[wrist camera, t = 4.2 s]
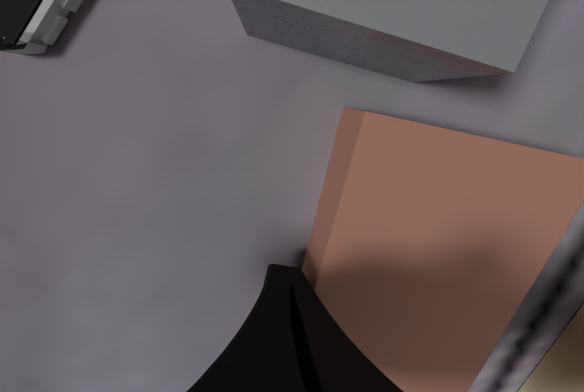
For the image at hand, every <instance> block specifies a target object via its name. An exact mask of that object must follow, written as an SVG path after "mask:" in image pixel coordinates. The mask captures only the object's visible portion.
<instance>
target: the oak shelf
mask: <svg viewBox="0 0 584 392" xmlns="http://www.w3.org/2000/svg"><path fill="white" fill-rule="evenodd" d="M518 392H584V304H583V305H582V307H581V308H580V309H579V311H578V312H577V313H576V315H575V316H574V317H573V319H572V320H571V321H570V323H569V324H568V325H567V327H566V328H565V329H564V331H563V332H562V333H561V335H560V336H559V337H558V339H557V340H556V341H555V343H554V344H553V345H552V347H551V348H550V349H549V351H548V352H547V353H546V355H545V356H544V357H543V359H542V360H541V361H540V363H539V364H538V365H537V367H536V368H535V369H534V371H533V372H532V373H531V375H530V376H529V377H528V379H527V380H526V381H525V383H524V384H523V385H522V387H521V388H520V389H519V391H518Z"/></svg>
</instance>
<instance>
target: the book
mask: <svg viewBox="0 0 584 392" xmlns="http://www.w3.org/2000/svg"><path fill="white" fill-rule="evenodd" d="M583 201H584V159H582V158H577V157H573V156H568V155H563V154H559V153H554V152H550V151H545V150H541V149H536V148H532V147H527V146H523V145H518V144H513V143H509V142H504V141H500V140H495V139H491V138H486V137H482V136H477V135H472V134H468V133H463V132H459V131H454V130H450V129H445V128H441V127H436V126H431V125H427V124H422V123H418V122H413V121H409V120H404V119H400V118H395V117H390V116H386V115H381V114H377V113H372V112H368V111H362V110H356V109H350V108H344V107H343V110H342V114H341V117H340V121H339V125H338V129H337V133H336V137H335V141H334V145H333V149H332V153H331V157H330V161H329V165H328V168H327V172H326V176H325V180H324V184H323V188H322V192H321V196H320V200H319V204H318V208H317V212H316V215H315V219H314V223H313V227H312V231H311V235H310V239H309V243H308V247H307V251H306V255H305V259H304V262H303V266H302V271H303V273H304V275H305V276H306V278H307V280H308V281H309V283H310V285H311V286H312V288H313V289H314V291H315V293H316V294H317V296H318V297H319V299H320V300H321V302H322V303H323V305H324V306H325V308H326V309H327V311H328V312H329V314H330V315H331V316H332V317H333V319H334V320H335V321H336V323H337V324H338V325H339V327H340V328H341V329H342V330H343V332H344V333H345V334H346V335H347V336H348V337H349V339H350V340H351V341H352V342H353V343H354V344H355V345H356V346H357V347H358V349H359V350H360V351H361V352H362V353H363V354H364V355H365V356H366V357H367V358H368V359H369V360H370V361H371V362H372V363H373V364H374V365H375V366H376V367H377V368H378V369H379V370H380V371H381V372H382V373H383V374H384V375H385V376H387V377H388V378H389V379H390V380H391V381H392V382H393V383H394V384H396V385H397V386H398V387H399V388H400V389H401V390H402V391H404V392H468V390H469V388H470V387H471V385H472V383H473V382H474V380H475V379H476V377H477V375H478V374H479V372H480V370H481V369H482V367H483V365H484V364H485V362H486V360H487V359H488V357H489V356H490V354H491V352H492V351H493V349H494V347H495V346H496V344H497V342H498V341H499V339H500V337H501V336H502V334H503V332H504V331H505V329H506V328H507V326H508V324H509V323H510V321H511V319H512V318H513V316H514V314H515V313H516V311H517V309H518V308H519V306H520V304H521V303H522V301H523V300H524V298H525V296H526V295H527V293H528V291H529V290H530V288H531V286H532V285H533V283H534V281H535V280H536V278H537V277H538V275H539V273H540V272H541V270H542V268H543V267H544V265H545V263H546V262H547V260H548V258H549V257H550V255H551V253H552V252H553V250H554V249H555V247H556V245H557V244H558V242H559V240H560V239H561V237H562V235H563V234H564V232H565V230H566V229H567V227H568V225H569V224H570V222H571V221H572V219H573V217H574V216H575V214H576V212H577V211H578V209H579V207H580V206H581V204H582V202H583Z"/></svg>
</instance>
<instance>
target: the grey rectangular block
mask: <svg viewBox="0 0 584 392" xmlns="http://www.w3.org/2000/svg"><path fill="white" fill-rule="evenodd" d="M548 1H549V0H232V2H233V4H234V7H235V9H236V11H237V13H238V16H239V18H240V20H241V22H242V24H243V27H244V29H245V31H246V33H247V35H249V36H252V37H256V38H259V39H263V40H266V41H270V42H273V43H277V44H280V45H284V46H287V47H291V48H294V49H298V50H301V51H305V52H308V53H312V54H315V55H319V56H322V57H326V58H329V59H333V60H336V61H340V62H343V63H347V64H350V65H354V66H357V67H361V68H364V69H368V70H371V71H375V72H378V73H382V74H385V75H389V76H392V77H396V78H399V79H403V80H406V81H410V82H421V81H432V80H443V79H453V78H464V77H474V76H485V75H495V74H506V73H515V71H516V68H517V66H518V64H519V62H520V60H521V58H522V56H523V54H524V52H525V50H526V47H527V45H528V43H529V41H530V39H531V37H532V35H533V33H534V31H535V28H536V26H537V24H538V22H539V20H540V18H541V16H542V14H543V12H544V10H545V7H546V5H547V3H548Z"/></svg>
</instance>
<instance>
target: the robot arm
mask: <svg viewBox="0 0 584 392" xmlns="http://www.w3.org/2000/svg"><path fill="white" fill-rule="evenodd" d="M187 392H404V391H402V390H401V389H400V388H399V387H398V386H397V385H396V384H394V383H393V382H392V381H391V380H390V379H389V378H388V377H387V376H385V375H384V374H383V373H382V372H381V371H380V370H379V369H378V368H377V367H376V366H375V365H374V364H373V363H372V362H371V361H370V360H369V359H368V358H367V357H366V356H365V355H364V354H363V353H362V352H361V351H360V350H359V349H358V347H357V346H356V345H355V344H354V343H353V342H352V341H351V340H350V339H349V337H348V336H347V335H346V334H345V333H344V332H343V330H342V329H341V328H340V327H339V325H338V324H337V323H336V321H335V320H334V319H333V317H332V316H331V315H330V314H329V312H328V311H327V309H326V308H325V306H324V305H323V303H322V302H321V300H320V299H319V297H318V296H317V294H316V293H315V291H314V289H313V288H312V286H311V285H310V283H309V281H308V280H307V278H306V276H305V275H304V273H303V271H302V270H301V268H295V267H289V266H283V265H277V264H270V265H269V266H268V269H267V273H266V277H265V282H264V286H263V289H262V291H261V293H260V296H259V298H258V300H257V302H256V303H255V305H254V307H253V309H252V311H251V312H250V314H249V316H248V317H247V319H246V321H245V322H244V324H243V325H242V327H241V328H240V330H239V331H238V332H237V334H236V335H235V337H234V338H233V339H232V341H231V342H230V343H229V345H228V346H227V347H226V349H225V350H224V351H223V352H222V353H221V355H220V356H219V357H218V358H217V359H216V361H215V362H214V363H213V364H212V365H211V366H210V367H209V368H208V370H207V371H206V372H205V373H204V374H203V375H202V376H201V377H200V379H199V380H198V381H197V382H196V383H195V384H194V385H193V386H192V387H191V388H190V389H189V390H188V391H187Z"/></svg>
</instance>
